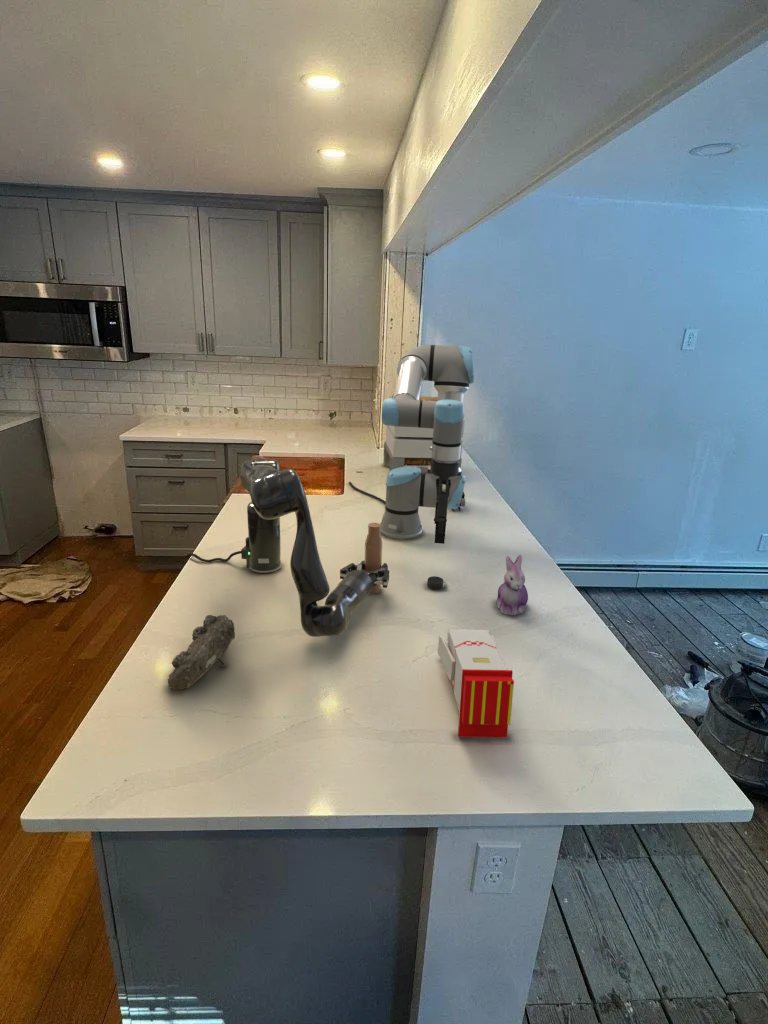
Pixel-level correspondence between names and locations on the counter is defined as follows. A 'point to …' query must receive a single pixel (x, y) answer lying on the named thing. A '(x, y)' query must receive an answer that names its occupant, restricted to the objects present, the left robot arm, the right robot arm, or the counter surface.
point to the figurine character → (462, 501)
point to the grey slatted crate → (410, 445)
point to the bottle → (373, 551)
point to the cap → (435, 583)
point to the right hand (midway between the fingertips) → (439, 533)
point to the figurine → (512, 589)
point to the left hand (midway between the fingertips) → (376, 564)
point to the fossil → (202, 651)
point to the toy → (478, 682)
